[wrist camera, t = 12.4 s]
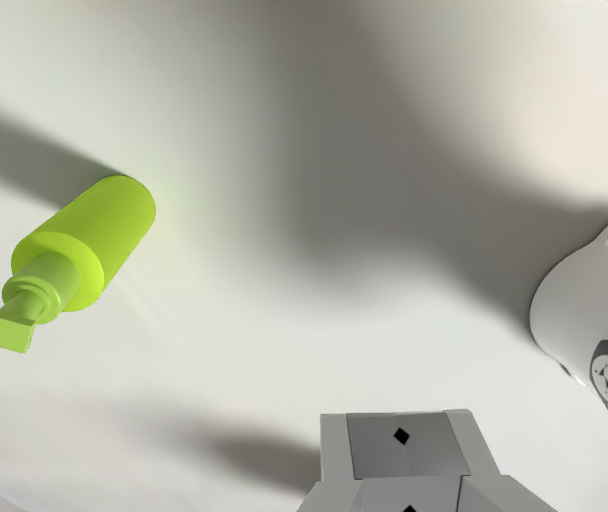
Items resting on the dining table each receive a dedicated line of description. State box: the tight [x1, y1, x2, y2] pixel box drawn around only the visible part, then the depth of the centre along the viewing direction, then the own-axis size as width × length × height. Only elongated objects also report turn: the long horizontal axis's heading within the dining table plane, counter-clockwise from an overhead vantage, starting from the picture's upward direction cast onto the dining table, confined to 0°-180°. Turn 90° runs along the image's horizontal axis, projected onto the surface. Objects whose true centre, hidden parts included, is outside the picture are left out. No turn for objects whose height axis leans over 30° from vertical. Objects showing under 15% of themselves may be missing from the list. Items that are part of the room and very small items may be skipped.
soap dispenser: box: [0, 175, 156, 353], centre depth 34 cm, size 6×7×20 cm
